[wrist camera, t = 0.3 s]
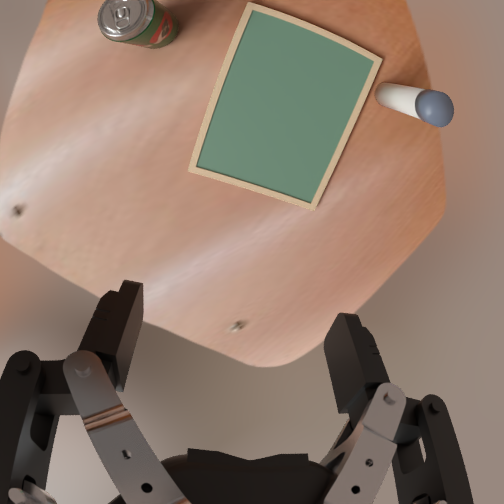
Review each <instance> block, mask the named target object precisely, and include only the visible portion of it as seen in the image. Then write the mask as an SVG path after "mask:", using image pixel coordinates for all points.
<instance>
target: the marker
mask: <svg viewBox="0 0 504 504" xmlns="http://www.w3.org/2000/svg"><path fill="white" fill-rule="evenodd" d="M375 98H376V100H377V102H378V103H379V104H380V105H382V106H384V107H387V108H390V109H393V110H396V111H399V112H402V113H405V114H408V115H411V116H413V117H416V118H419V119H421V120H422V121H424V122H427V123H429V124H432V125H434V126H437V127H444V126H446V125H448V124H449V123H450V121H451V120H452V117H453V114H454V107H453V103H452V101H451V99H450V97H449V96H448V95H446V94H445V93H443V92H439V91H435V90H430V89H421V88H415V87H410V86H405V85H399V84H393V83H386V82H384V83H381V84H379V85H378V86H377V87H376V90H375Z"/></svg>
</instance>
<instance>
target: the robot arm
mask: <svg viewBox="0 0 504 504" xmlns="http://www.w3.org/2000/svg"><path fill="white" fill-rule="evenodd" d="M142 320H143V283H140V282H134V281H129V280H124V281H123V283H122V285H121V287H120V290H119V292H116V291H111V290H110V291H108V292H107V293H106V294H105V295H104V296H103V297H101V299H100V301H99V303H98V305H97V307H96V310H95V312H94V314H93V317H92V318H91V321H90V323H89V325H88V327H87V330H86V332H85V334H84V336H83V339H82V341H81V344H80V346H79V348H78V350H77V351H75V352H73V353H71V354H70V355H68V356H67V358H66V359H64V360H58V361H40V359H39V357H38V356H37V355H36V354H35V353H33V352H31V351H27V350H24V351H19V352H16V353H15V354H13V355H12V356H11V357H10V358H9V360H8V362H7V364H6V367H5V369H4V371H3V374H2V376H1V379H0V504H57V503H56V501H55V499H54V498H53V497H52V496H51V495H50V494H49V493H47V492H46V491H45V488H46V482H47V475H48V469H49V463H50V458H51V453H52V448H53V443H54V438H55V434H56V429H57V425H58V421H59V417H60V415H80V416H81V418H82V420H83V423H84V426H85V429H86V431H87V433H88V435H89V437H90V439H91V441H92V443H93V446H94V448H95V449H96V452H97V453H98V455H99V457H100V459H101V461H102V463H103V465H104V467H105V469H106V470H107V472H108V474H109V475H110V477H111V479H112V481H113V483H114V484H115V486H116V488H117V489H118V491H119V493H120V495H118V496H117V497H116V498H115V499H113V500H112V501H111V502H110V503H108V504H372V503H373V501H374V499H375V497H376V495H377V493H378V491H379V488H380V486H381V484H382V482H383V480H384V477H385V475H386V473H387V471H388V468H389V466H390V463H391V461H392V466H393V471H394V477H395V483H396V489H397V495H398V501H399V504H474V503H473V498H472V494H471V489H470V485H469V481H468V477H467V473H466V469H465V465H464V462H463V458H462V454H461V451H460V448H459V444H458V441H457V438H456V434H455V432H454V428H453V425H452V422H451V419H450V416H449V413H448V410H447V407H446V405H445V403H444V402H443V400H442V399H441V398H440V397H438V396H436V395H431V394H429V395H427V396H425V397H424V398H423V399H422V400H421V401H420V400H415V399H412V398H408V397H405V394H404V392H403V391H402V390H401V389H400V388H399V387H398V386H396V385H394V384H392V383H390V380H389V377H388V374H387V372H386V369H385V366H384V364H383V361H382V358H381V356H380V355H379V354H380V353H379V350H378V348H377V345H376V343H375V340H374V337H373V335H372V334H371V333H370V332H369V331H368V329H367V328H366V327H362V325H361V322H360V319H359V317H358V315H356V314H348V313H339V314H338V315H337V317H336V319H335V321H334V322H333V324H332V326H331V328H330V330H329V332H328V333H327V335H326V337H325V341H324V352H325V356H326V360H327V364H328V368H329V373H330V377H331V381H332V386H333V390H334V395H335V399H336V403H337V408H338V413H339V414H340V413H349V419H348V420H347V421H346V423H345V425H344V426H343V428H342V430H341V432H340V434H339V435H338V437H337V439H336V441H335V442H334V444H333V446H332V448H331V449H330V451H329V452H328V454H327V455H326V456H325V457H324V458H323V459H322V461H321V462H320V463H319V464H318V463H316V462H313V461H309V460H308V454H278V455H274V456H270V457H265V458H261V459H256V460H246V459H242V458H239V457H235V456H232V455H229V454H225V453H222V452H219V451H209V450H199V449H190V448H188V451H187V454H185V455H178V456H173V457H170V458H167V459H165V460H163V461H161V462H160V461H159V460H158V458H157V457H156V455H155V453H154V452H153V450H152V449H151V447H150V446H149V444H148V443H147V441H146V439H145V438H144V436H143V434H142V433H141V431H140V429H139V428H138V426H137V424H136V423H135V421H134V419H133V417H132V416H131V414H130V413H129V411H128V410H127V409H125V407H124V406H123V404H122V402H121V400H120V399H119V397H118V395H117V393H116V391H119V392H123V391H124V387H125V383H126V379H127V375H128V371H129V368H130V364H131V360H132V356H133V353H134V349H135V346H136V342H137V339H138V335H139V332H140V328H141V325H142ZM421 437H422V440H423V444H424V448H425V452H426V460H425V462H424V460H423V456H422V453H421V448H420V444H419V439H420V438H421Z"/></svg>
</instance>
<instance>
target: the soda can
mask: <svg viewBox="0 0 504 504" xmlns="http://www.w3.org/2000/svg"><path fill="white" fill-rule="evenodd" d="M98 25H99V27H100V30H101V32H102V34H103V35H104V36H105V37H106V38H108V39H109V40H112V41H116V42H121V43H127V44H132V45H137V46H141V47H146V48H150V49H157V48H161V47H164V46H166V45H168V44H169V43H170V42H171V41H172V40H173V39H174V38H175V36H176V35H177V32H178V28H179V24H178V20H177V18H176V16H175V15H174V14H173V13H172V12H170V11H169V10H168V9H167V8H166V7H164V6H163V5H162V4H161V3H159V2H158V1H157V0H106V1H105V2H104V3H103V4H102V6H101V8H100V10H99V13H98Z"/></svg>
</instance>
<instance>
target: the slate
mask: <svg viewBox="0 0 504 504" xmlns="http://www.w3.org/2000/svg"><path fill="white" fill-rule="evenodd" d="M381 62H382V59H381V58H380V57H378V56H376V55H374V54H373V53H371V52H369V51H367V50H365V49H363V48H361V47H359V46H358V45H356V44H354V43H352V42H350V41H348V40H346V39H344V38H341V37H339V36H337V35H335V34H333V33H331V32H329V31H326V30H324V29H322V28H320V27H317V26H315V25H313V24H310V23H308V22H305V21H303V20H300V19H298V18H295V17H292V16H290V15H287V14H284V13H282V12H279V11H276V10H273V9H270V8H267V7H264V6H261V5H258V4H254V3H251V2H248V3H247V5H246V8H245V10H244V12H243V15H242V17H241V20H240V22H239V24H238V27H237V29H236V32H235V34H234V37H233V39H232V42H231V44H230V47H229V49H228V52H227V54H226V57H225V60H224V62H223V65H222V68H221V70H220V73H219V76H218V79H217V81H216V84H215V87H214V90H213V93H212V96H211V98H210V101H209V104H208V107H207V110H206V113H205V116H204V119H203V122H202V125H201V129H200V132H199V135H198V138H197V141H196V144H195V148H194V151H193V154H192V158H191V161H190V164H189V168H188V172H192V173H195V174H199V175H202V176H206V177H209V178H213V179H216V180H219V181H223V182H226V183H229V184H232V185H236V186H239V187H242V188H245V189H249V190H252V191H255V192H258V193H261V194H264V195H267V196H270V197H273V198H277V199H280V200H283V201H286V202H289V203H292V204H294V205H297V206H300V207H303V208H306V209H309V210H312V211H314V210H315V208H316V206H317V204H318V202H319V200H320V198H321V196H322V194H323V191H324V189H325V187H326V185H327V183H328V181H329V179H330V177H331V175H332V172H333V170H334V168H335V166H336V164H337V162H338V159H339V157H340V155H341V153H342V151H343V149H344V146H345V144H346V142H347V140H348V138H349V135H350V133H351V131H352V129H353V126H354V124H355V122H356V120H357V118H358V115H359V113H360V111H361V108H362V106H363V104H364V102H365V99H366V97H367V95H368V92H369V90H370V88H371V85H372V83H373V81H374V78H375V76H376V74H377V71H378V69H379V67H380V64H381Z"/></svg>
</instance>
